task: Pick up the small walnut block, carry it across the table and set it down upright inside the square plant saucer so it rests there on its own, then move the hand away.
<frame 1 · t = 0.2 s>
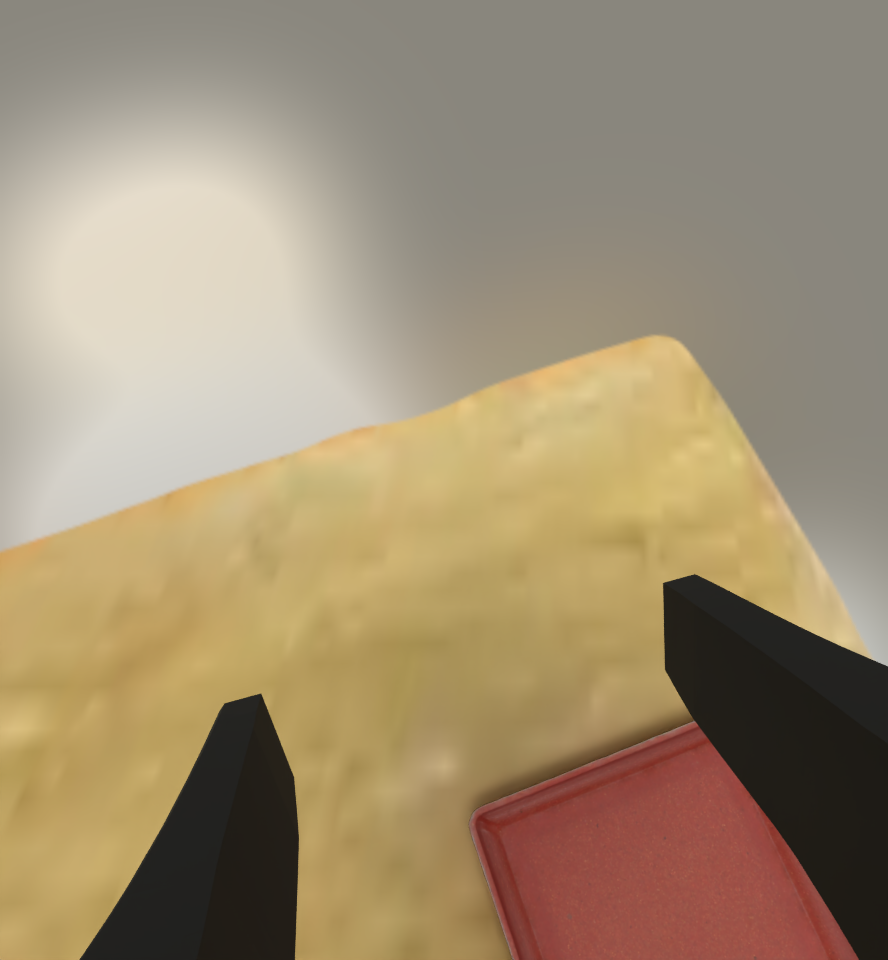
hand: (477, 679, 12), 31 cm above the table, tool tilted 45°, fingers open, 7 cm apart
plant saucer: (663, 914, 38), on the table
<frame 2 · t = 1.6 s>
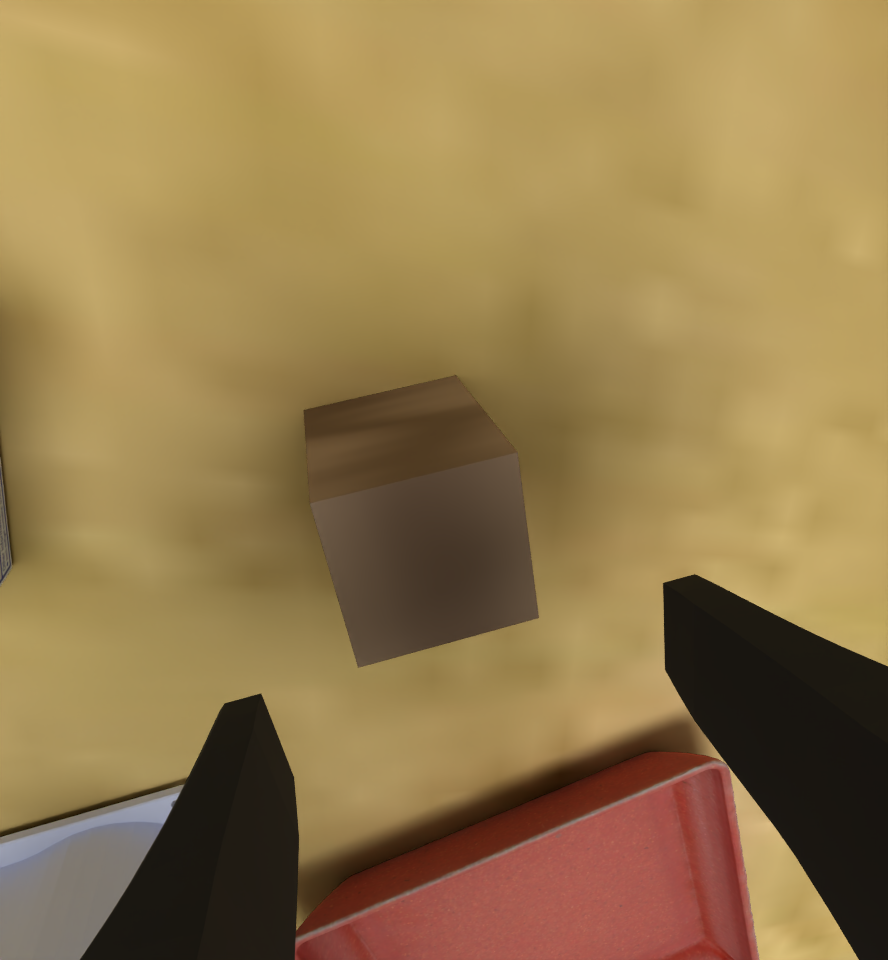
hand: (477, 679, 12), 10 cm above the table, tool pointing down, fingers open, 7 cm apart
walnut block: (395, 461, 20), on the table
plant saucer: (534, 896, 32), on the table
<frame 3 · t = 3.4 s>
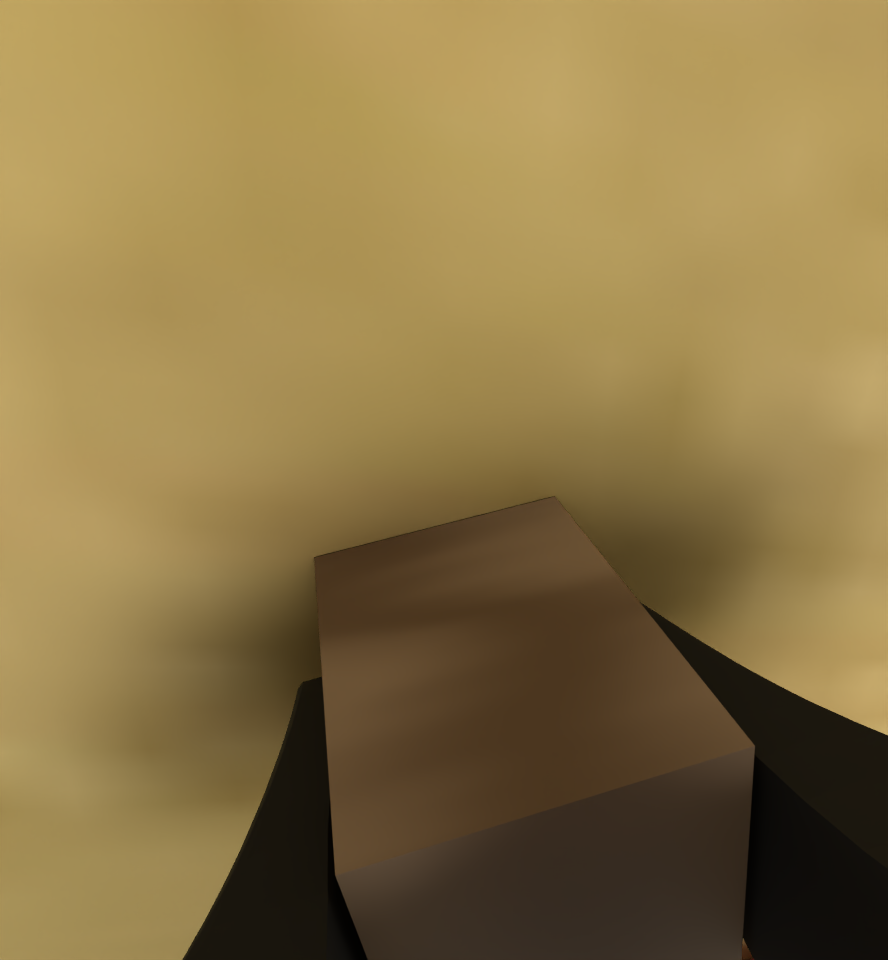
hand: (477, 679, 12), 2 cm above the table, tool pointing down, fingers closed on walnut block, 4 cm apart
walnut block: (456, 623, 13), on the table, touching gripper
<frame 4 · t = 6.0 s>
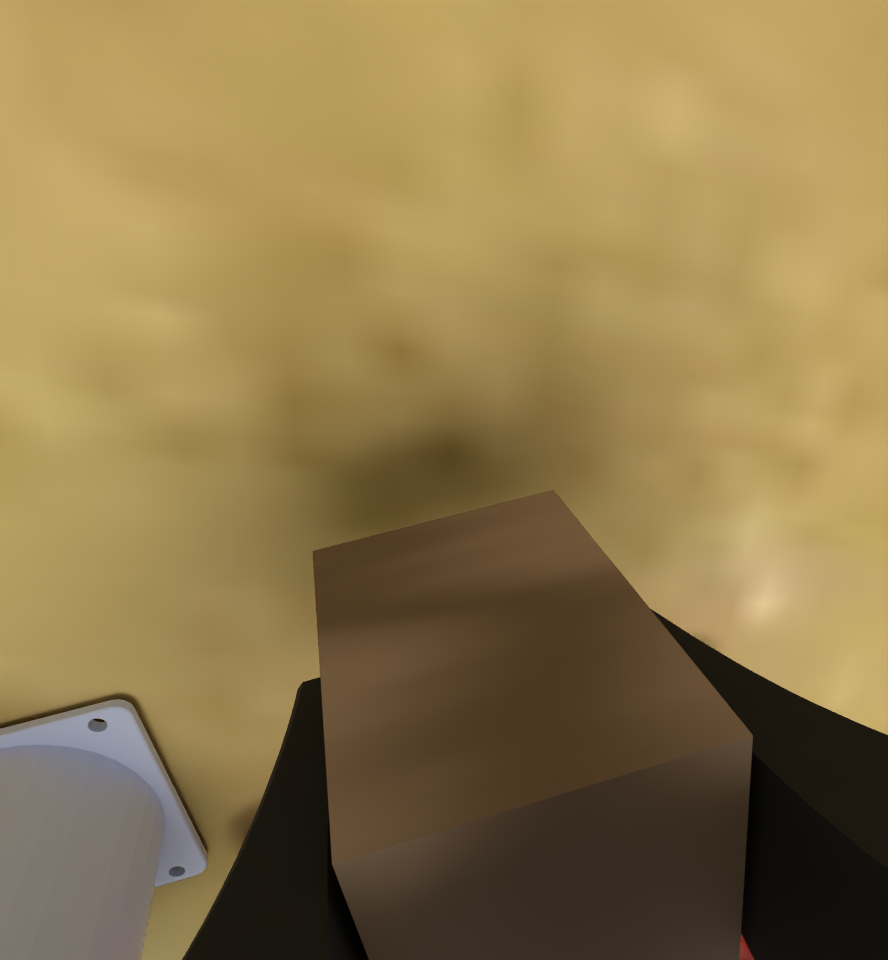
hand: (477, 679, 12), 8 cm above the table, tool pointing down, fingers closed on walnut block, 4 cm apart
walnut block: (455, 617, 13), point 7 cm above the table, touching gripper
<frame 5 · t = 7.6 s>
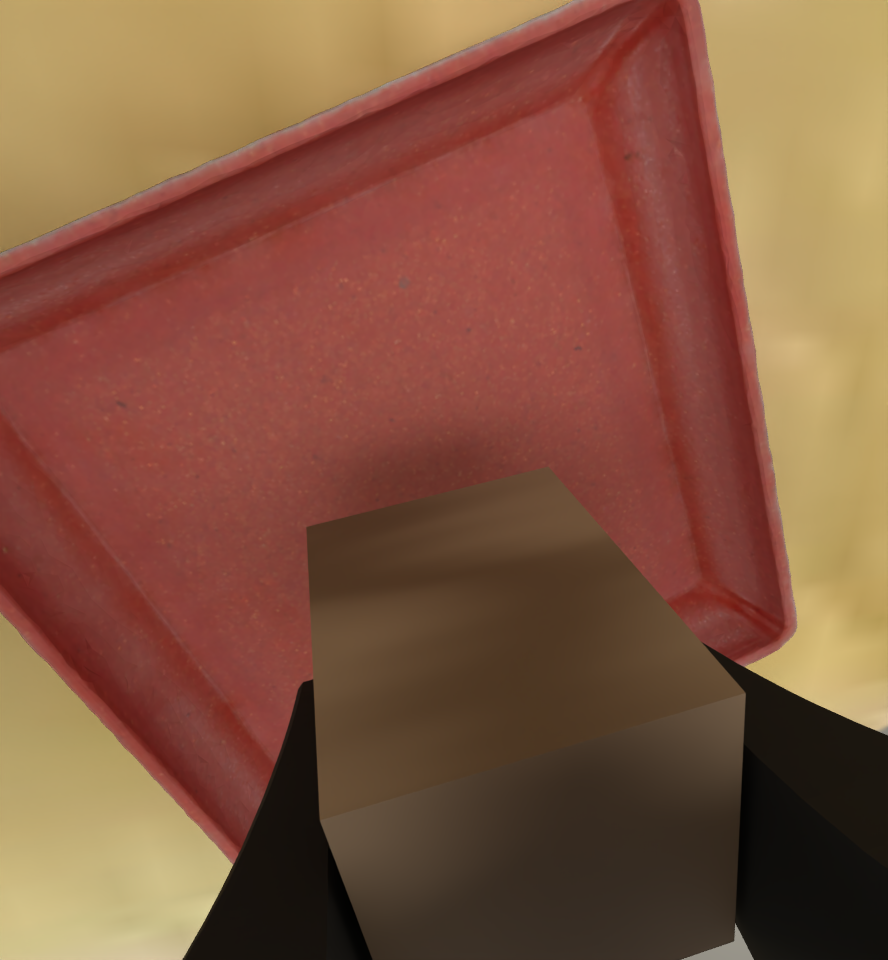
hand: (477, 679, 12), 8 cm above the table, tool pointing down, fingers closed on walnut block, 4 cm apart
walnut block: (450, 596, 13), point 6 cm above the table, touching gripper
plant saucer: (403, 479, 19), on the table
when the fingers open (6 cm above the table, at t = 8.8 s): walnut block drops 1 cm, point 3 cm above the table.
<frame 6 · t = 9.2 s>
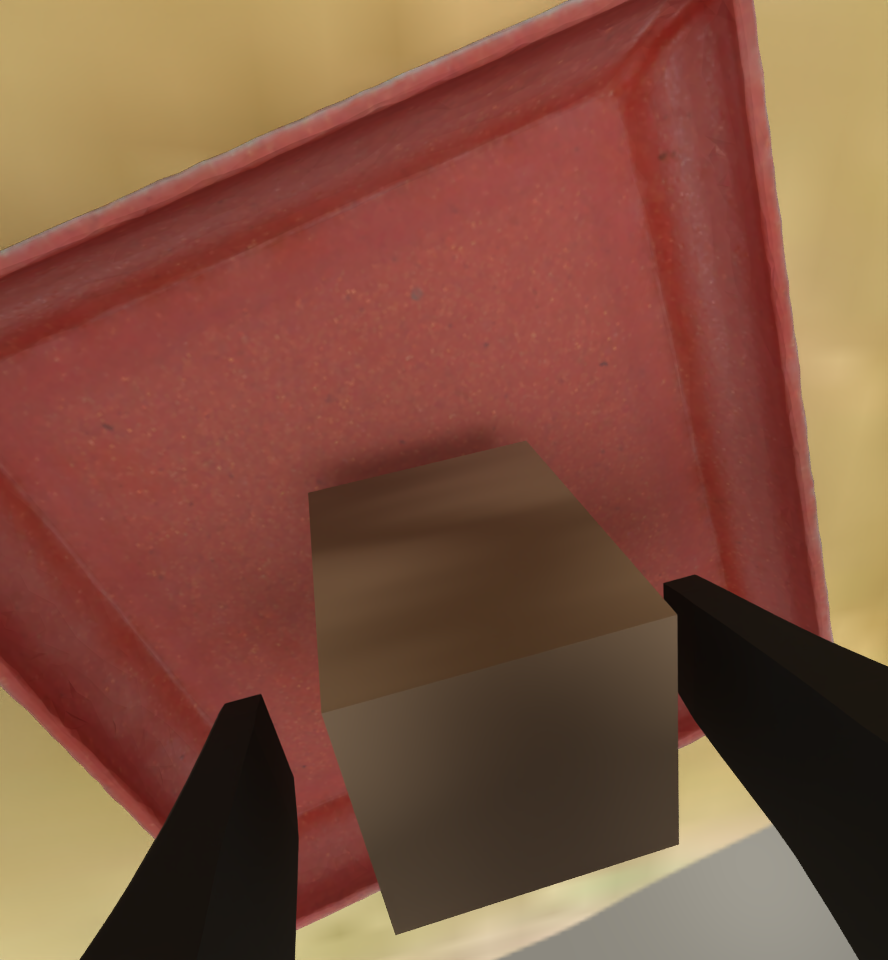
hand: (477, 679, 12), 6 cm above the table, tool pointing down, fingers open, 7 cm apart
walnut block: (437, 559, 14), point 3 cm above the table
plant saucer: (413, 502, 18), on the table
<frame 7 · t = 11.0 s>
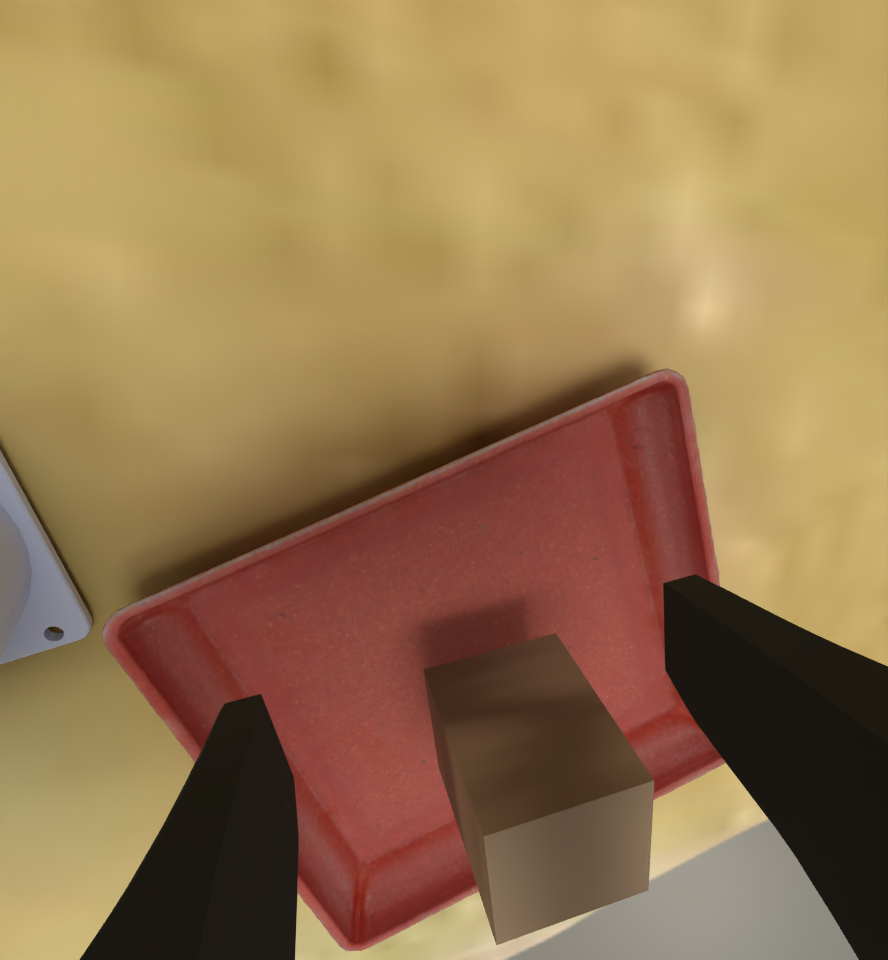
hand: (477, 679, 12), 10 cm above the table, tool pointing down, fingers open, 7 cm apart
walnut block: (495, 702, 23), point 3 cm above the table, touching plant saucer
plant saucer: (463, 642, 26), on the table, touching walnut block
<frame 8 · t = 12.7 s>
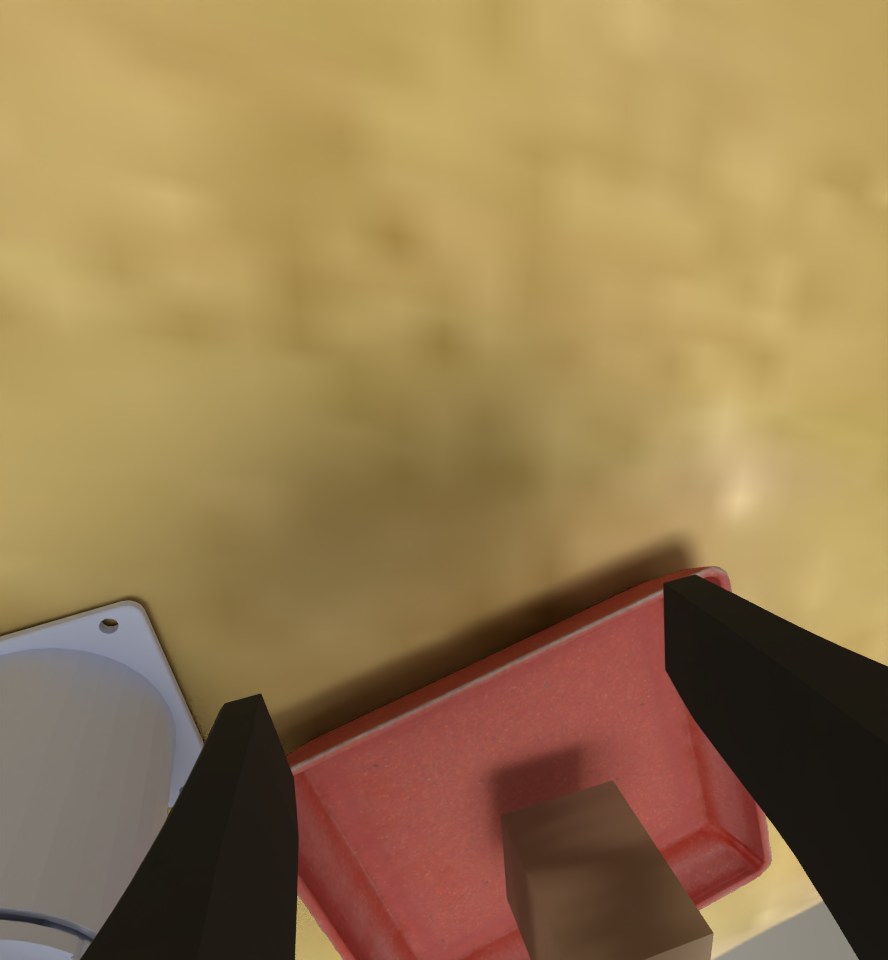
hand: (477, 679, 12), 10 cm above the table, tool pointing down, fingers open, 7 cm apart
walnut block: (558, 840, 26), point 3 cm above the table, touching plant saucer
plant saucer: (522, 774, 29), on the table, touching walnut block
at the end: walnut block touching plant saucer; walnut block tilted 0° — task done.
